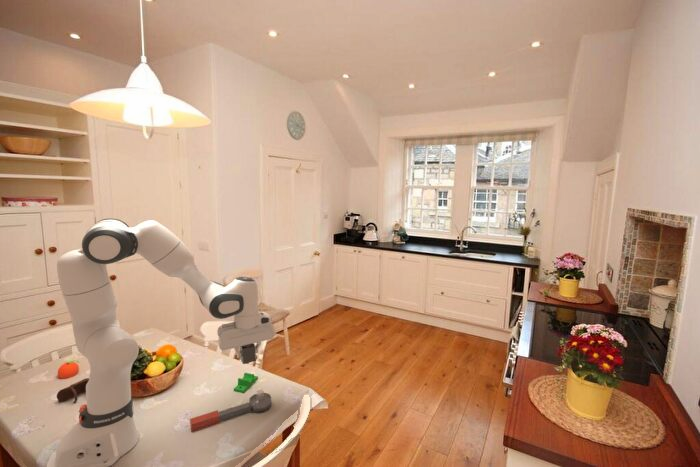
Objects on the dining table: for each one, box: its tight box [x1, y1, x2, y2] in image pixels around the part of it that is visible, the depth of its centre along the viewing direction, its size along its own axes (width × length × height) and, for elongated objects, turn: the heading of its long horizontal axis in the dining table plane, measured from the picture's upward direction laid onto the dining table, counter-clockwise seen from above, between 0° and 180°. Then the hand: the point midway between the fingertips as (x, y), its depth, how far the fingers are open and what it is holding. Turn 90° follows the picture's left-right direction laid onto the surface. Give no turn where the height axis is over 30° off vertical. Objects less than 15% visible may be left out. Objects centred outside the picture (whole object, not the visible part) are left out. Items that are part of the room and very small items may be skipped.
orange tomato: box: [57, 360, 80, 380], centre depth 139 cm, size 8×7×7 cm
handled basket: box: [56, 377, 89, 404], centre depth 123 cm, size 18×12×7 cm, turn 65°
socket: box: [239, 343, 257, 365], centre depth 122 cm, size 5×5×6 cm
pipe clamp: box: [233, 372, 259, 394], centre depth 137 cm, size 11×4×5 cm
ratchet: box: [189, 388, 272, 432], centre depth 118 cm, size 28×8×6 cm, turn 122°
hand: (247, 354), depth 122 cm, fingers closed on socket, 5 cm apart
